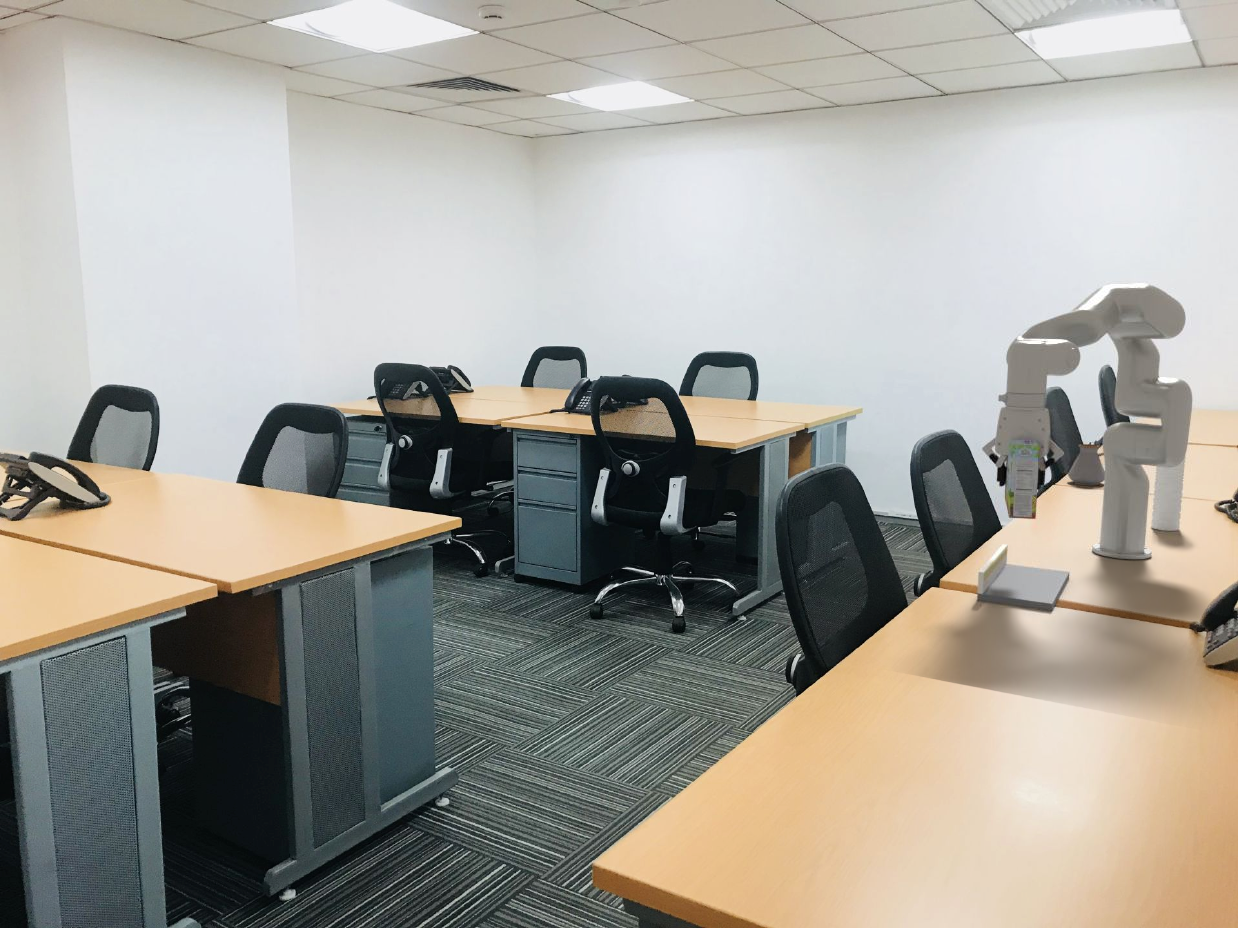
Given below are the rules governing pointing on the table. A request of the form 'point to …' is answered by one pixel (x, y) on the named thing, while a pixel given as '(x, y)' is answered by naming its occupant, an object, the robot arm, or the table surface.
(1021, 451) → the snack box
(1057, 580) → the shelf
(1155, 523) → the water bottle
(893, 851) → the table surface
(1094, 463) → the coffee pot
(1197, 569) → the table surface
